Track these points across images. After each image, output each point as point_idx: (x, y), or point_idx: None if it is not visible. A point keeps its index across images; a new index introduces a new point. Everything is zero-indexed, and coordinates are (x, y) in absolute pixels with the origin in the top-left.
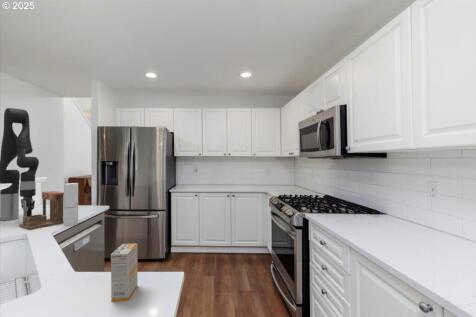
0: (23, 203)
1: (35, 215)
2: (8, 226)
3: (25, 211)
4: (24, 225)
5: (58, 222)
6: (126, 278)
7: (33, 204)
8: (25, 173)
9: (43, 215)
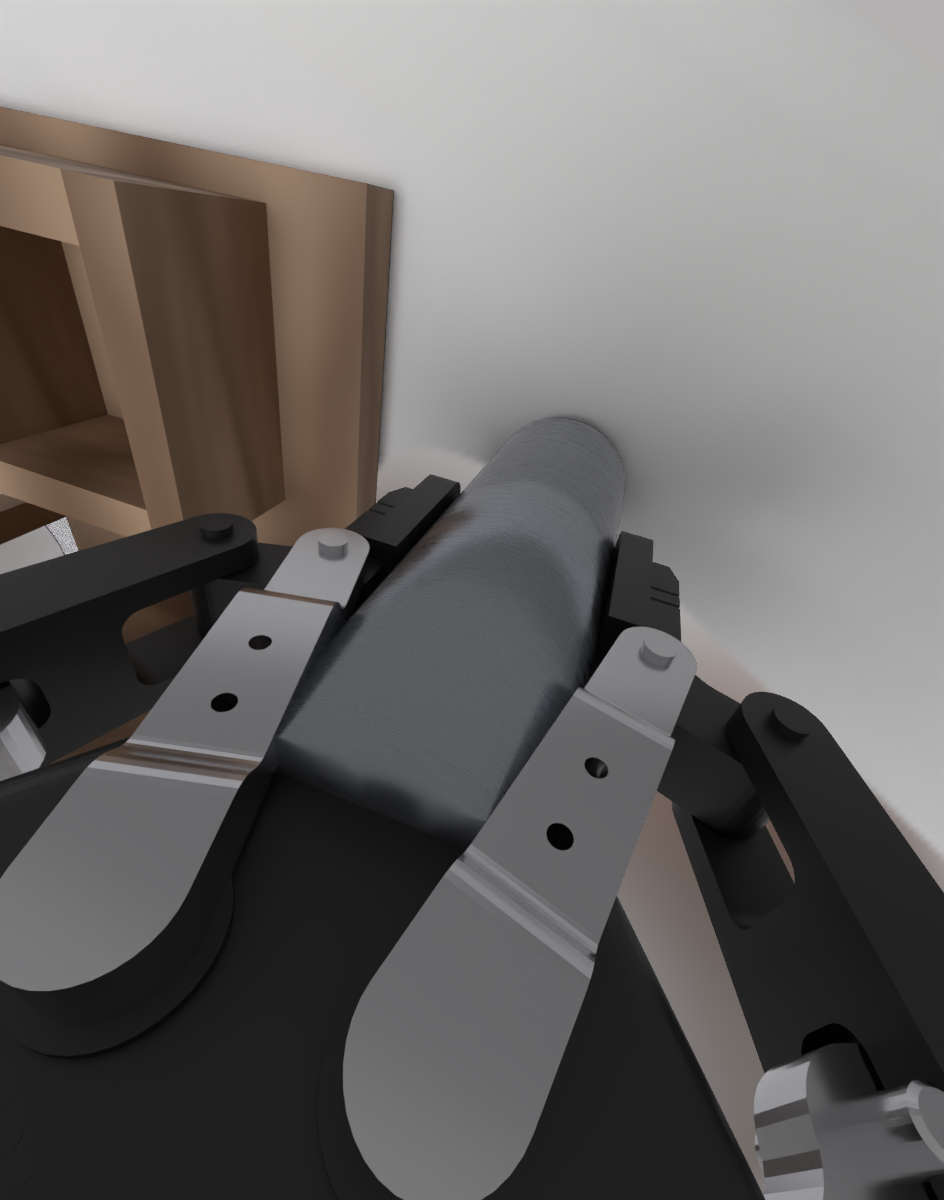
0: (430, 754)
1: (134, 453)
2: (721, 100)
3: (440, 523)
4: (161, 166)
5: (78, 528)
6: None
7: (23, 682)
8: None
9: (17, 484)
